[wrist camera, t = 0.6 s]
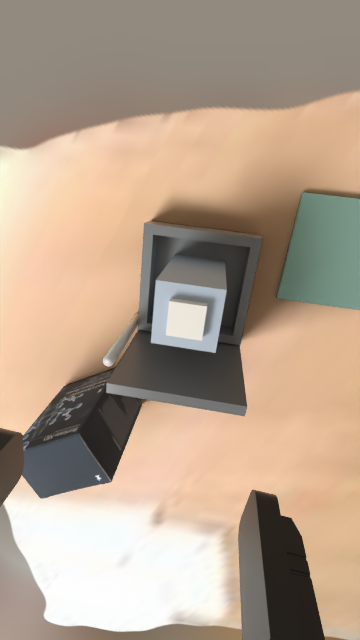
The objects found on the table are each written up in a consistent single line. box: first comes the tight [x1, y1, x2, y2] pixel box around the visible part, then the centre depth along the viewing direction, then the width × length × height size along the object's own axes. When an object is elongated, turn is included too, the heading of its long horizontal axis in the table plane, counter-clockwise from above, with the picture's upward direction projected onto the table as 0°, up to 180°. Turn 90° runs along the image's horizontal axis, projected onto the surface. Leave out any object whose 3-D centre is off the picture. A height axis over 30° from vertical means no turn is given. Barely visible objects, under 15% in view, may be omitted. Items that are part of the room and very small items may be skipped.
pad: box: [276, 192, 360, 310], centre depth 26 cm, size 9×9×1 cm
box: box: [22, 368, 142, 499], centre depth 30 cm, size 8×6×11 cm
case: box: [103, 221, 263, 416], centre depth 24 cm, size 11×11×11 cm
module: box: [151, 254, 227, 353], centre depth 24 cm, size 4×4×10 cm
